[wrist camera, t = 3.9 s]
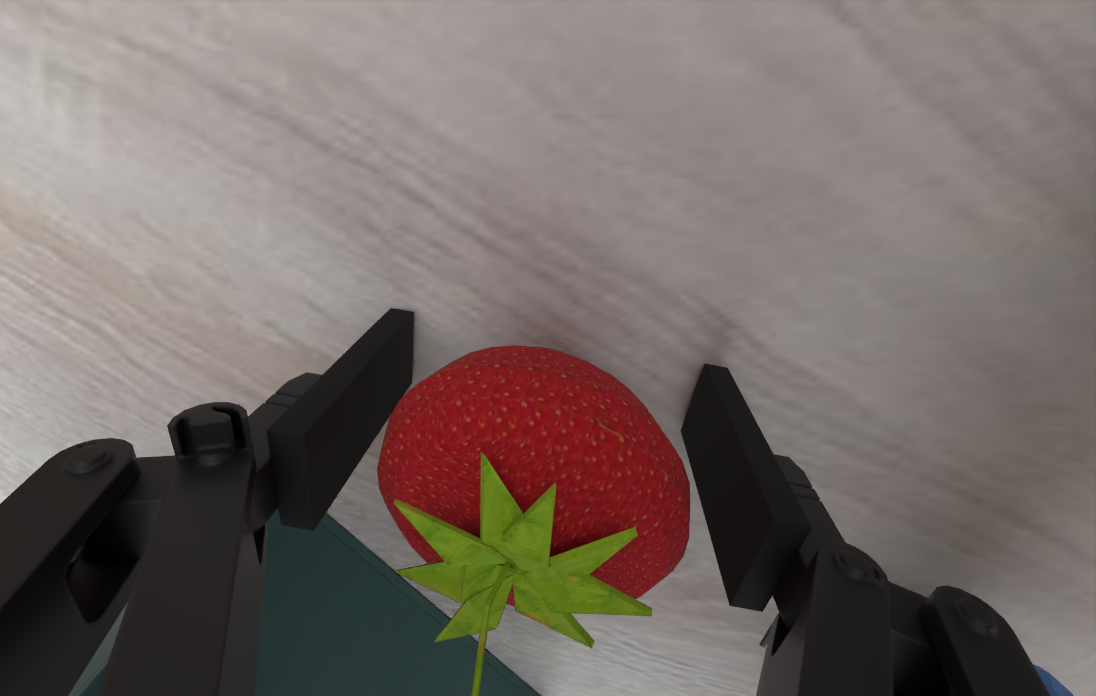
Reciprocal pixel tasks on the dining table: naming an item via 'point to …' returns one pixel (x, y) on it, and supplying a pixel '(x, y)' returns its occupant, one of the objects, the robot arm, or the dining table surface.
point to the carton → (345, 628)
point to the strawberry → (533, 491)
